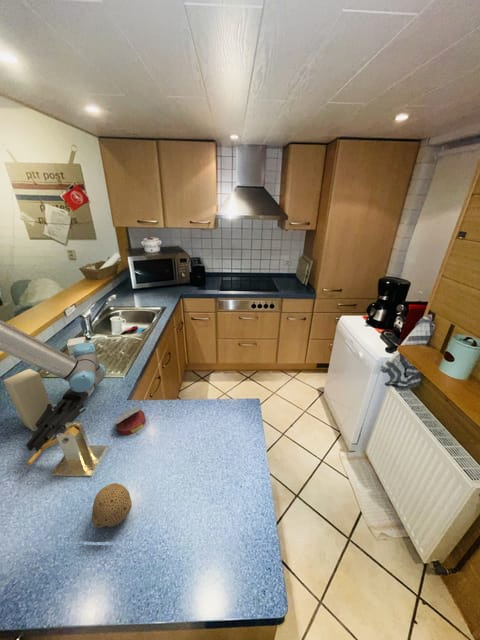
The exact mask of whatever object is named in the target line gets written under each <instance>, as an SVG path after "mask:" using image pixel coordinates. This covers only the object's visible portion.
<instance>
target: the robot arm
mask: <svg viewBox="0 0 480 640" xmlns="http://www.w3.org/2000/svg"><path fill="white" fill-rule="evenodd" d="M0 298H2V292H1V290H0ZM0 352H2V353H4V354H7V355H8V356H11V357H13V358H15V359H18V360H20V361H22V362H24V363H27V364H29V365H31V366H33V367H35V368H37V369H40V370H42V371H44V372H46V373H48V374H50V375H53V376H55V377H58V378H60V379H61V380H64V381H66V382H68V386H69V388H68V389H67V390H66V391H65V392H64V394H63V396H62V397H61V399H60V400H58V401H57V402H56V403H54V404H52V403H51V404H52V405H51V404H48V405H47V409H46V410H45V411H44V413H43V414H42V416H41V417H40V418H39V420H38V421H37V422H36V424H35V425H36V428H37V430H35V431H34V432H33V434H32V435H31V438H30V439H29V440H28V441H27V442H26V443H25V446H26V449H27V451H29V452H32V451H33V449H34V450H35V452H36V451H39V450H40V448H41V447H42V446H43V445H44V443H45V442H46V441H47V440H49V439H50V438H51V437H52V436H53V435H56V433H57V432H59V431H61V432H62V431H66V430H67V428H66V426H65V424H66V423H67V422H74V421H75V420H76V419H77V418H78V417H79V416H80V415H81V414H82V413H84V412H86V408H85V407H86V406H85V402H86V401H87V400H88V399H89V398H90V396H91V395H92V394H93V392H94V391H95V390H96V389H97V387H98V386H99V385H100V384H101V383H102V381H103V380H104V378H105V377H106V375H107V372H108V371H107V367H105V365H103V364H102V363H99V358H98V354H97V350H96V348H95V345H94V344H93V343H92V342H87V343H81V344H78V345H76V346H75V347H74V348H73V356H74V358H75V359H74V358H72V357H70V355H68V354H66V353H64V352H63V351H61V350H59V349H57V348H55V347H53V346H51V345H49V344H48V343H45V342H44V341H41V340H40V339H38V338H36V337H34V336H32V335H30V334H28V333H26V332H24V331H22V330H20V328H19V329H18V328H17V327H15V326H12V325H11V324H9V323H7V322H5V321H3V320H2V319H0ZM53 411H54V412H53Z"/></svg>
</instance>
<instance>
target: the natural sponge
mask: <svg viewBox="0 0 480 640" xmlns="http://www.w3.org/2000/svg"><path fill="white" fill-rule="evenodd" d="M130 494H131V493H130V492H129V490H128V489H127V488H126V486H125V485H123V484H121V483H117V482H114V483H113V482H112V483H110V484H108V485H105V486H104V487H102V488H101V489H100V490H99V491H98V492H97V494H96V495H95V498H94V500H93V503H92V510H91V523H92V525H93V526H94V527H96V528H104V527H108V528H109V527H111V528H112V527H115V526H118V525H119V524H121V523H122V522H123V521H124V520H125V519H126V518H127V517H128V515H129V514H130V512H131V510H132V506H133V505H132V504H133V502H132V499H131V495H130Z"/></svg>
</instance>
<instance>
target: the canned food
mask: <svg viewBox="0 0 480 640" xmlns="http://www.w3.org/2000/svg"><path fill="white" fill-rule="evenodd" d="M114 424H115V426H116V428H117V431H118V433H120V434H121V435H125V436H127V435H133V434H136V433H137V432H139V431H140V430H142V429H143V428H144V426H145V425H146V414H145V412H144V411H142V406H141V407H140V406H136V407H134V408H130V409H129V410H127V411H124V412H122V413H121V414H120V415H118V417H117V418H116V419H115V420H114Z"/></svg>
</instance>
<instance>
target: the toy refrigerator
mask: <svg viewBox="0 0 480 640" xmlns="http://www.w3.org/2000/svg"><path fill="white" fill-rule="evenodd" d="M3 383H4V386H5V388H6V390H7V392H8V394H9V396H10V398H11V401H12V402H13V405H14V407H15V409H16V411H17V413H18V415H19V417H20V419H21V421H22V424H23V426H25V427H26V428H28V429H29V430H31V431H33V432H36V431H37V428H36V425H35V424H36V422H37V421H38V420H39V418H40V417H41V416H42V414H43V413H44V411H45V410H46V409H47V405H48V404H51V405H53V404H52V401H51V399H50V397H49V394H48V392H47V389H46V387H45V386H46V385H45V384H44V382H43V379H42V376H41V374H40V373H39V372H37V371H35V370H33V369H31V368H27V369H24V370H23V371H21V372H18V373H16V374H14V375H12V376H10V377H8V378H5V379H3ZM53 412H54V411H53Z"/></svg>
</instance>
